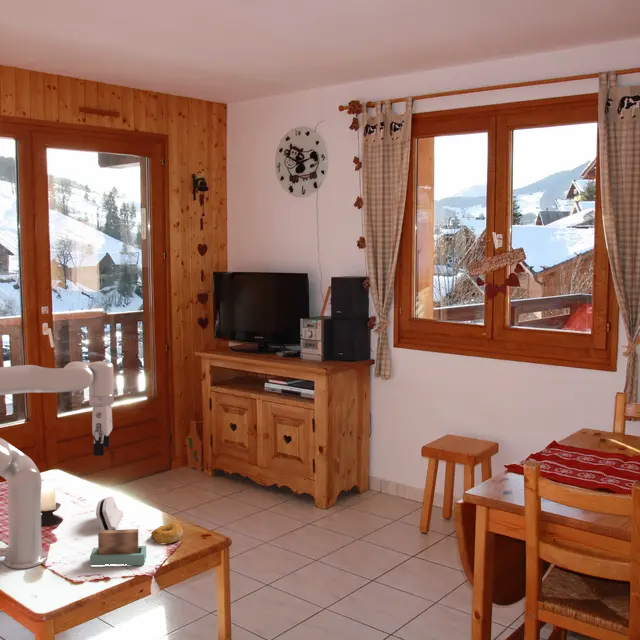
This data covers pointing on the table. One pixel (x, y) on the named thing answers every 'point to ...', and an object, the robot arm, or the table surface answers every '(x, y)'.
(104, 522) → the white curved piece
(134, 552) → the brown wooden board
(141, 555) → the green rectangular tray
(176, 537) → the bagel
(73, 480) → the table surface
